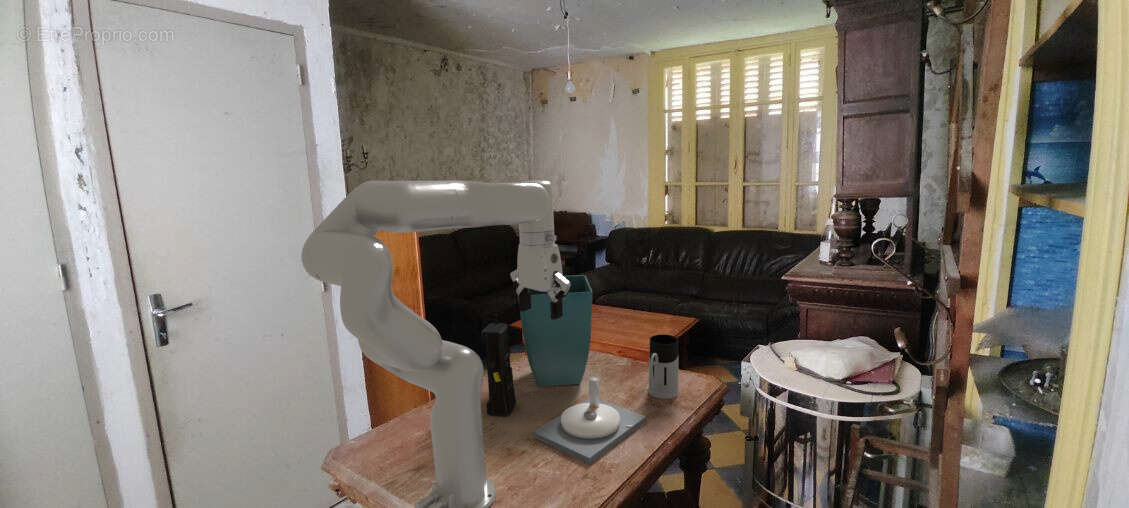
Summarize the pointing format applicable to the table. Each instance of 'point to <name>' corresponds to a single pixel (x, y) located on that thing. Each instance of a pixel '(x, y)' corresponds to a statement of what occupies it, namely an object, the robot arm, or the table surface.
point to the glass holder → (663, 367)
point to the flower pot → (559, 334)
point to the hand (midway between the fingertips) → (540, 313)
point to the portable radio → (499, 369)
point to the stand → (588, 447)
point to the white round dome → (590, 417)
